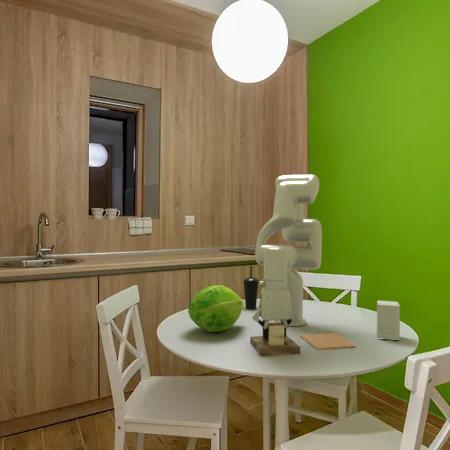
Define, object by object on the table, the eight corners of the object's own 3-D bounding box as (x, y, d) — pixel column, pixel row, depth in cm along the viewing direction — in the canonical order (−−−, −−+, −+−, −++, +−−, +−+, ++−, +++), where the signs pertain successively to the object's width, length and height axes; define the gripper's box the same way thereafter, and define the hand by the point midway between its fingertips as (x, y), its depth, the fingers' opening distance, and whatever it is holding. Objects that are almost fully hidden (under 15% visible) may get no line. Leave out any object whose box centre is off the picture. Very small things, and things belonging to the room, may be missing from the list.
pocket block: (250, 342, 133) (250, 336, 132) (286, 340, 135) (286, 334, 135) (260, 356, 120) (260, 349, 120) (300, 353, 122) (300, 347, 122)
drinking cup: (240, 306, 184) (240, 265, 184) (255, 305, 186) (255, 264, 186) (245, 310, 177) (246, 267, 176) (261, 309, 179) (261, 266, 179)
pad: (300, 336, 140) (300, 334, 140) (336, 334, 142) (336, 333, 142) (316, 349, 126) (316, 348, 126) (355, 347, 128) (355, 345, 128)
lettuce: (259, 330, 146) (260, 285, 146) (204, 343, 131) (205, 293, 131) (229, 319, 161) (229, 279, 161) (176, 330, 146) (177, 285, 145)
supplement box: (397, 335, 142) (398, 301, 141) (399, 341, 135) (400, 305, 134) (376, 333, 144) (376, 299, 144) (376, 339, 137) (377, 304, 137)
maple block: (264, 345, 129) (265, 322, 129) (279, 345, 130) (279, 321, 130) (269, 350, 124) (269, 326, 124) (284, 350, 125) (284, 325, 125)
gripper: (252, 287, 122) (252, 344, 122) (304, 285, 125) (303, 341, 125) (247, 283, 129) (246, 337, 129) (295, 282, 132) (294, 334, 133)
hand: (274, 338), depth 127 cm, fingers closed on maple block, 5 cm apart
